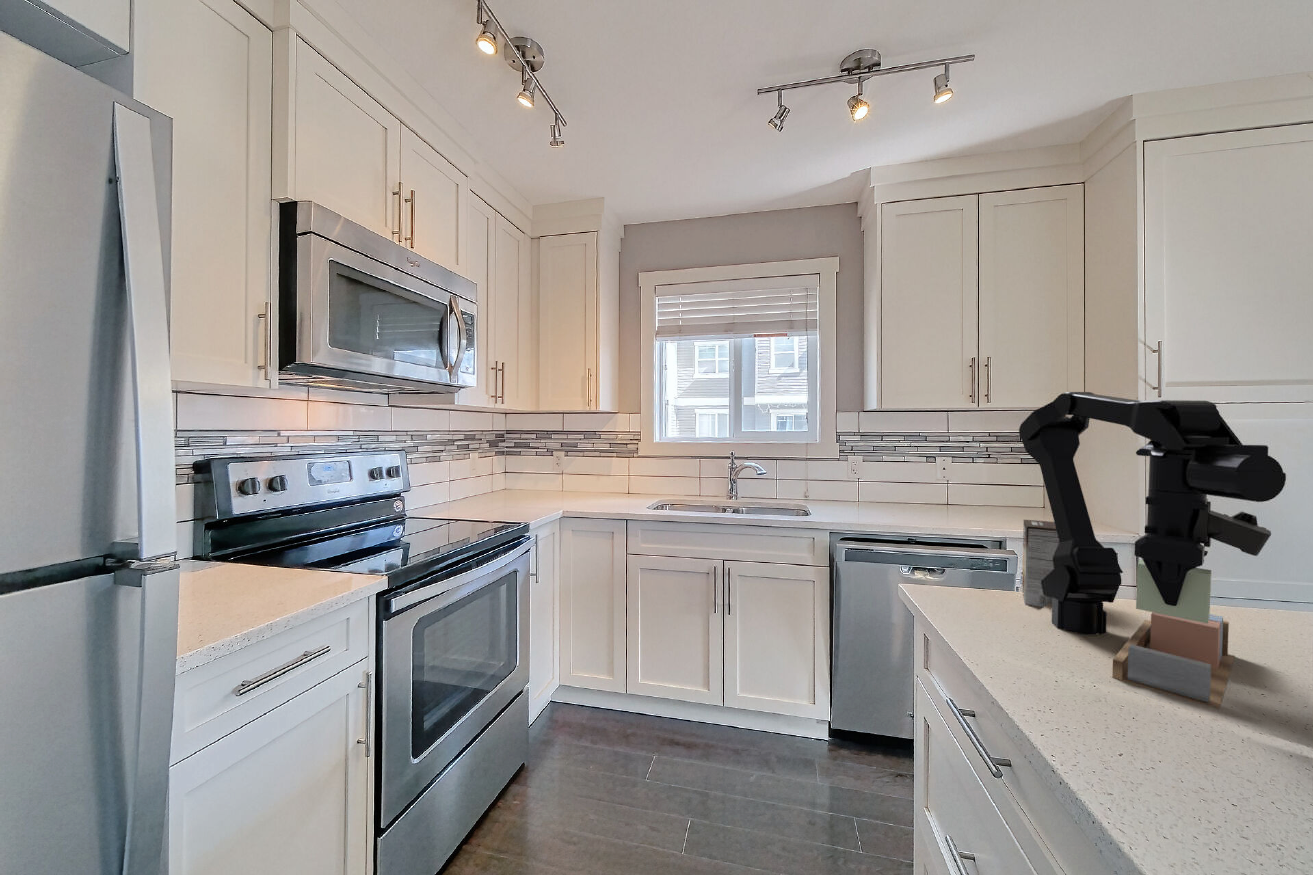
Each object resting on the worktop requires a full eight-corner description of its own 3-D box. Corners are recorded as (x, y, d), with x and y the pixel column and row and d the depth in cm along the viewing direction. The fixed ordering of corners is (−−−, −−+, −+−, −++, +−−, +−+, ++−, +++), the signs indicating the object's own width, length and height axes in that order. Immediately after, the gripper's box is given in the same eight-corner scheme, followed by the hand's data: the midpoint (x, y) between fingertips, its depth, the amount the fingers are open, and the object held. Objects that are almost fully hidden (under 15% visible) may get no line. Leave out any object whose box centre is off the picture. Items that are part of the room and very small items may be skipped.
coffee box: (1020, 592, 111) (1022, 518, 111) (1058, 597, 108) (1060, 521, 108) (1024, 604, 103) (1026, 525, 103) (1064, 611, 100) (1066, 528, 100)
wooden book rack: (1218, 716, 63) (1220, 668, 63) (1112, 684, 71) (1113, 641, 71) (1234, 662, 78) (1235, 623, 78) (1144, 640, 86) (1145, 604, 86)
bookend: (1208, 703, 64) (1210, 667, 64) (1127, 679, 70) (1128, 646, 70) (1210, 699, 65) (1211, 664, 65) (1129, 676, 71) (1130, 644, 71)
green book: (1207, 623, 68) (1209, 574, 68) (1135, 608, 73) (1137, 563, 73) (1209, 617, 70) (1211, 570, 70) (1139, 603, 76) (1141, 559, 75)
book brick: (1217, 669, 74) (1218, 628, 74) (1150, 652, 79) (1151, 614, 79) (1219, 662, 76) (1220, 622, 76) (1154, 646, 81) (1155, 609, 81)
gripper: (1267, 504, 59) (1261, 638, 60) (1266, 491, 71) (1261, 602, 72) (1136, 494, 68) (1131, 611, 68) (1154, 483, 80) (1151, 583, 80)
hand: (1172, 601), depth 72 cm, fingers closed on green book, 3 cm apart
